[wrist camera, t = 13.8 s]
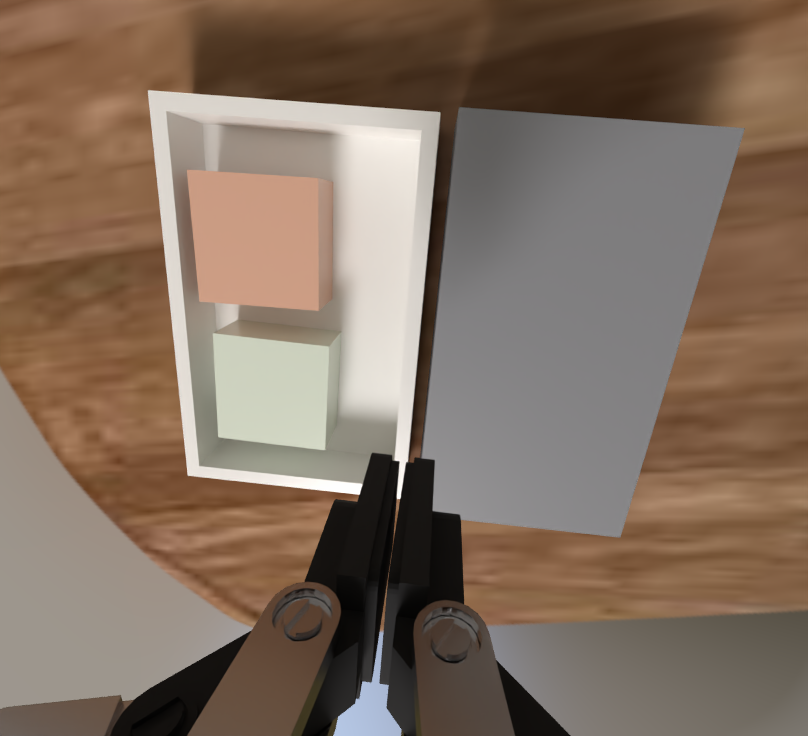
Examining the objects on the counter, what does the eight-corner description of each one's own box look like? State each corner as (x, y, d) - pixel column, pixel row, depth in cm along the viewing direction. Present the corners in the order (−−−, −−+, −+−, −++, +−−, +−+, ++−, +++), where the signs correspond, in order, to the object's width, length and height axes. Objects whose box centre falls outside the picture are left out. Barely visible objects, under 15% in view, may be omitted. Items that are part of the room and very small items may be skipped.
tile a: (318, 178, 16) (333, 181, 19) (186, 169, 17) (217, 174, 19) (318, 310, 18) (332, 299, 20) (199, 301, 18) (226, 291, 21)
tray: (191, 108, 18) (147, 90, 16) (439, 127, 18) (440, 112, 15) (217, 444, 24) (188, 475, 21) (408, 464, 24) (404, 499, 21)
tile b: (329, 346, 19) (341, 331, 21) (212, 333, 19) (237, 319, 21) (325, 450, 20) (336, 425, 23) (218, 437, 20) (240, 413, 23)
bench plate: (454, 128, 18) (459, 107, 14) (679, 145, 18) (744, 128, 14) (419, 465, 24) (415, 514, 20) (590, 484, 23) (620, 537, 19)
